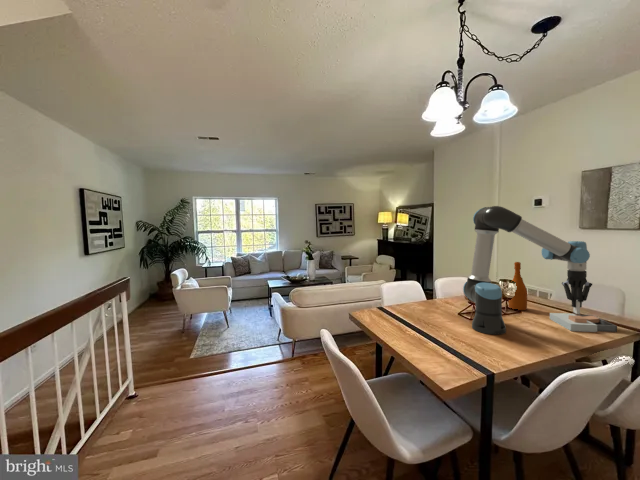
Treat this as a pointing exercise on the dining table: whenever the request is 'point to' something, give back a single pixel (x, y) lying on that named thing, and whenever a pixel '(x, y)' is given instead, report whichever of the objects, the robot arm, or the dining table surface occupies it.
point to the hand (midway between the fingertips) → (576, 313)
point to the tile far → (592, 319)
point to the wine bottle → (519, 291)
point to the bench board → (572, 323)
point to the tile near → (577, 319)
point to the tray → (604, 325)
